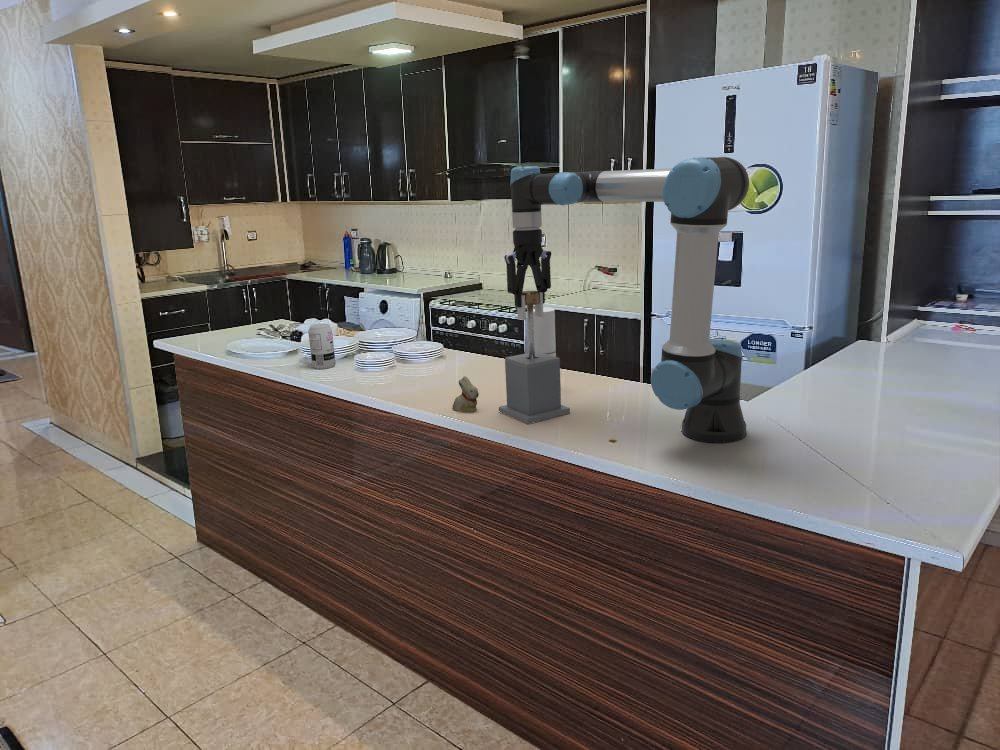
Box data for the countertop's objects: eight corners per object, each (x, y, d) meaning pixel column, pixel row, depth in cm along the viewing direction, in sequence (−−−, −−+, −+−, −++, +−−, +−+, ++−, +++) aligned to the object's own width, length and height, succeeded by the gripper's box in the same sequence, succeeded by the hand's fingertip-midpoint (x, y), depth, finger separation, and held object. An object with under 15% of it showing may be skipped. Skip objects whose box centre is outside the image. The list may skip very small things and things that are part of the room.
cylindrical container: (555, 395, 216) (552, 312, 210) (531, 395, 218) (528, 312, 211) (558, 389, 223) (556, 307, 217) (535, 388, 225) (532, 307, 218)
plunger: (553, 367, 197) (551, 291, 192) (528, 372, 193) (525, 295, 188) (535, 361, 204) (533, 288, 199) (511, 366, 200) (508, 292, 195)
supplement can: (311, 365, 268) (307, 325, 264) (334, 363, 270) (330, 322, 266) (313, 370, 260) (308, 329, 257) (336, 367, 263) (332, 326, 259)
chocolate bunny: (464, 415, 203) (462, 380, 200) (450, 408, 209) (447, 374, 207) (481, 411, 206) (479, 376, 203) (466, 404, 212) (464, 371, 210)
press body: (570, 413, 200) (568, 357, 196) (527, 424, 193) (525, 367, 189) (539, 402, 211) (537, 349, 207) (498, 411, 204) (496, 357, 200)
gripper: (546, 225, 197) (549, 311, 203) (489, 231, 187) (494, 320, 193) (563, 226, 191) (566, 315, 197) (506, 232, 181) (510, 324, 187)
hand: (530, 317), depth 195 cm, fingers closed on plunger, 5 cm apart
